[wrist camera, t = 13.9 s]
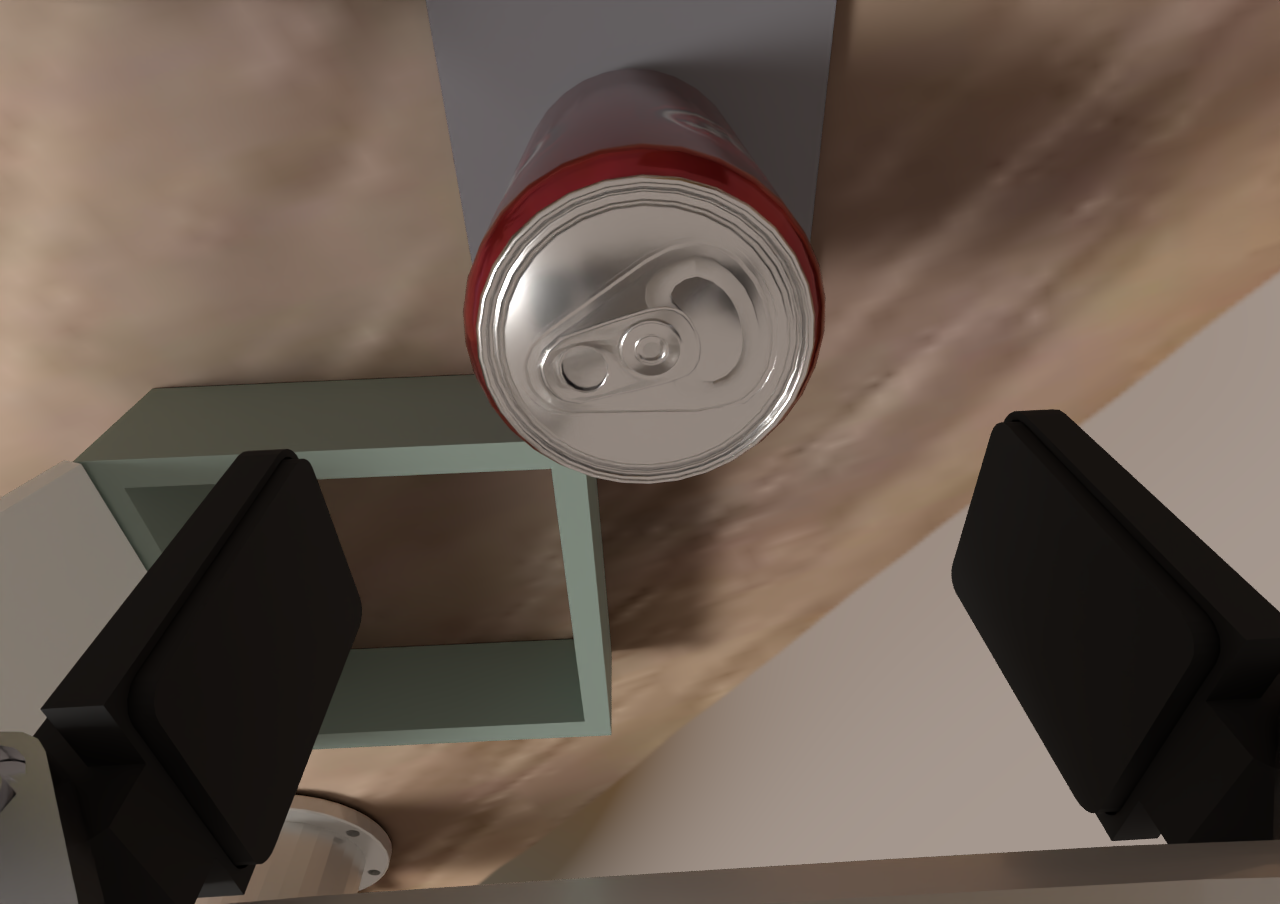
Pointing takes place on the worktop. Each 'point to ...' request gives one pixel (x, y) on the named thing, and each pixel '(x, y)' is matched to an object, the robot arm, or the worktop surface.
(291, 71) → the worktop surface
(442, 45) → the slate mat
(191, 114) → the worktop surface
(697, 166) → the soda can
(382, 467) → the open hinged box
